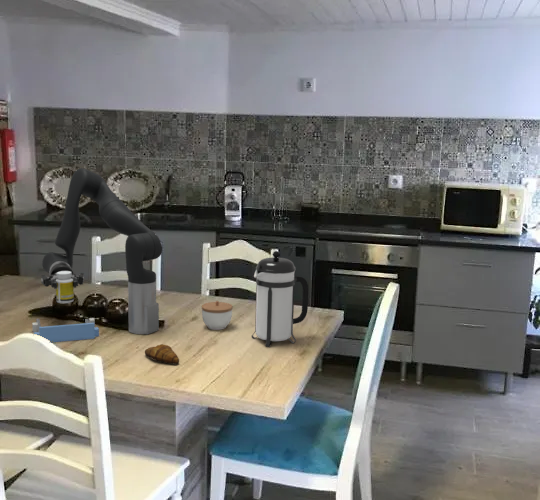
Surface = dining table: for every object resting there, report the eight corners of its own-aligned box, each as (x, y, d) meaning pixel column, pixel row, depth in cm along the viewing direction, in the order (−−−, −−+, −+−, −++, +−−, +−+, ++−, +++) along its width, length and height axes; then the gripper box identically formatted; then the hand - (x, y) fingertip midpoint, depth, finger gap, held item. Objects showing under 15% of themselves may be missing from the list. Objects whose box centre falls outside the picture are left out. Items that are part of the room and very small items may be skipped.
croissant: (186, 362, 193) (186, 346, 192) (169, 368, 187) (169, 352, 187) (154, 352, 201) (154, 336, 200) (137, 358, 195) (137, 342, 194)
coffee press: (290, 351, 205) (294, 257, 200) (244, 344, 210) (246, 252, 205) (307, 335, 221) (310, 248, 216) (263, 329, 226) (265, 244, 221)
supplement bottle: (77, 300, 212) (76, 271, 211) (65, 304, 208) (64, 275, 206) (64, 298, 215) (63, 269, 213) (52, 302, 210) (51, 272, 208)
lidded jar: (238, 327, 228) (239, 301, 226) (215, 333, 220) (216, 307, 218) (217, 321, 235) (218, 295, 233) (195, 326, 227) (195, 300, 226)
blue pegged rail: (31, 322, 227) (31, 308, 226) (90, 317, 234) (90, 304, 233) (34, 343, 205) (33, 328, 204) (99, 338, 212) (99, 323, 211)
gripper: (38, 263, 220) (41, 274, 204) (82, 261, 225) (88, 272, 210) (39, 285, 221) (41, 298, 206) (83, 283, 226) (88, 295, 211)
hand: (65, 285), depth 208 cm, fingers closed on supplement bottle, 5 cm apart
